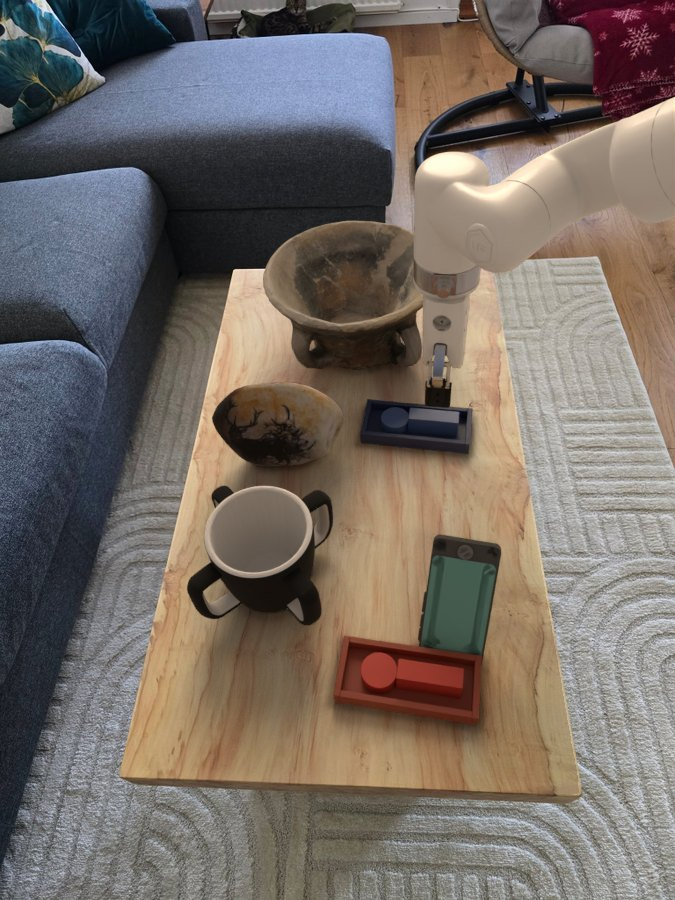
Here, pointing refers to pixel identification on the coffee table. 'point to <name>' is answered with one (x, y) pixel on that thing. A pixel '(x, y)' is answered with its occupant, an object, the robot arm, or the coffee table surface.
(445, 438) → the blue tray
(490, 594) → the smartphone
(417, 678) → the red spoon
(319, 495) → the mug
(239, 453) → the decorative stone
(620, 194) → the robot arm
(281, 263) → the bowl
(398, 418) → the blue spoon
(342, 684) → the red tray
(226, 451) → the coffee table surface
